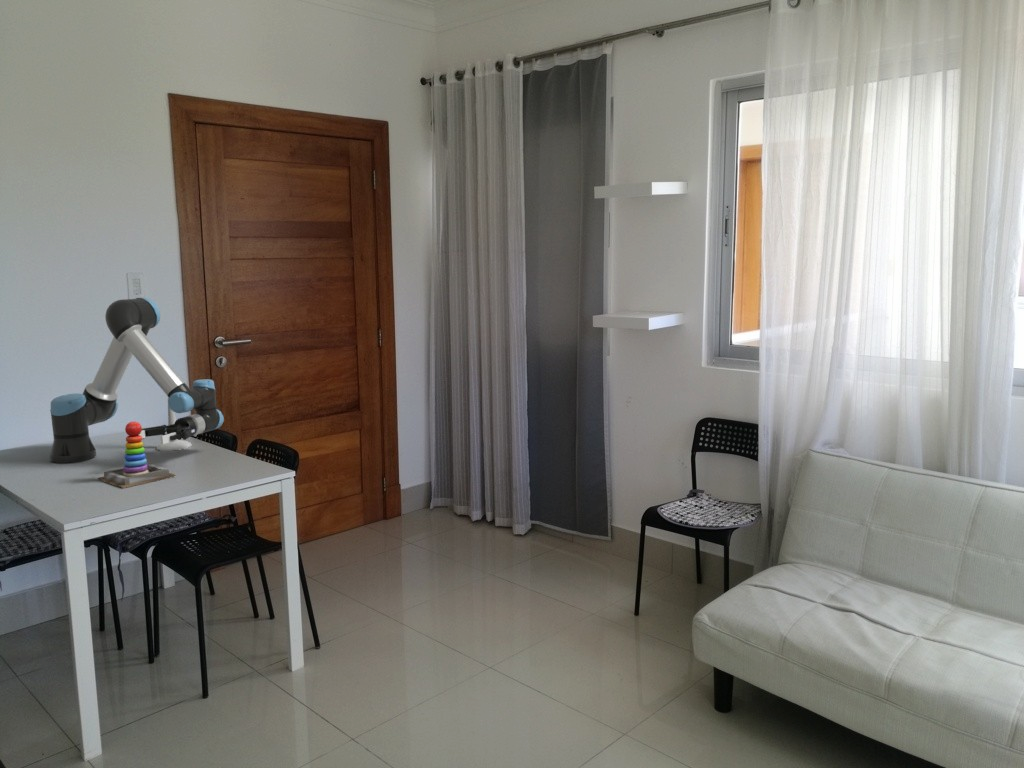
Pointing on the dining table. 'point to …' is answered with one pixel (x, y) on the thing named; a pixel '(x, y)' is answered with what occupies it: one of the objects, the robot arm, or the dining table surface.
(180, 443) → the candlestick
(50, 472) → the dining table surface
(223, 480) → the dining table surface
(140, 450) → the stacking toy
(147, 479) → the plate
